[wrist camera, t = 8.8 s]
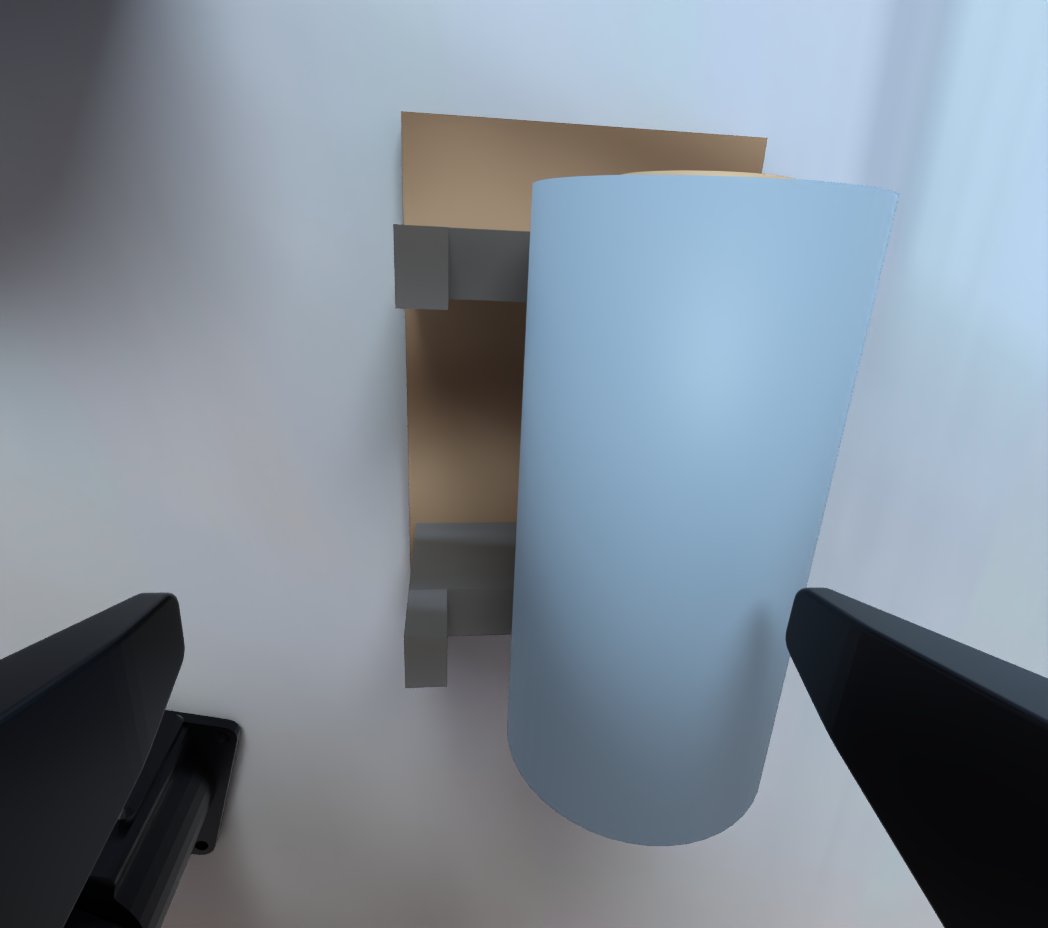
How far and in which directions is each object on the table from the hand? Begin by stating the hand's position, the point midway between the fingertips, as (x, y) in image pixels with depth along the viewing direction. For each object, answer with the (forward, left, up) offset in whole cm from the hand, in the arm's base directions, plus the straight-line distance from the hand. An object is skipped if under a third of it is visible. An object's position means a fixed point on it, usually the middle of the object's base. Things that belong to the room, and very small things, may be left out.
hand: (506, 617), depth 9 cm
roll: (+1, -3, -4) cm, 5 cm away
